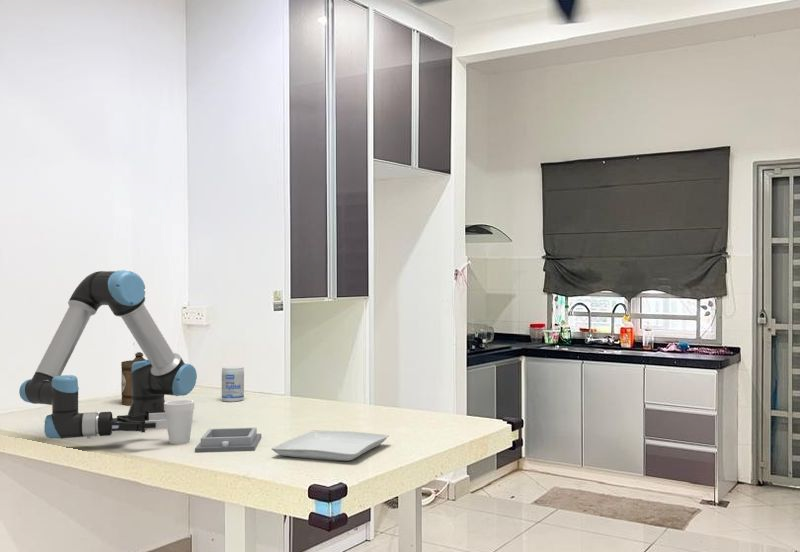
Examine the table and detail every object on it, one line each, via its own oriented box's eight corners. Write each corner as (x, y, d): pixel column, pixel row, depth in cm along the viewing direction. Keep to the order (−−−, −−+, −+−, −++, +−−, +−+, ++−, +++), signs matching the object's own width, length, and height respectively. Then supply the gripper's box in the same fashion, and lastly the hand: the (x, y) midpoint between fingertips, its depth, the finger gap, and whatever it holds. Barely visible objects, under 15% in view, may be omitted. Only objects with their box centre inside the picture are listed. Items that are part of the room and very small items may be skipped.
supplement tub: (225, 402, 326) (225, 368, 326) (218, 400, 334) (218, 366, 334) (247, 400, 331) (246, 367, 331) (240, 398, 339) (239, 365, 339)
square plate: (313, 440, 249) (313, 428, 249) (390, 446, 239) (390, 433, 239) (270, 459, 223) (270, 445, 223) (354, 466, 213) (354, 452, 213)
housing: (206, 438, 252) (206, 427, 252) (261, 437, 253) (261, 426, 253) (194, 452, 232) (194, 440, 232) (254, 450, 233) (254, 438, 233)
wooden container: (129, 400, 337) (129, 350, 337) (162, 400, 337) (162, 350, 337) (115, 405, 322) (115, 354, 322) (150, 405, 322) (149, 353, 322)
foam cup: (199, 439, 250) (199, 400, 250) (184, 445, 241) (184, 404, 242) (174, 438, 253) (174, 399, 253) (158, 444, 244) (158, 404, 244)
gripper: (104, 428, 253) (170, 424, 258) (92, 444, 229) (166, 439, 234) (103, 406, 253) (170, 402, 258) (92, 419, 229) (165, 415, 234)
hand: (168, 420), depth 246 cm, fingers open, 13 cm apart
